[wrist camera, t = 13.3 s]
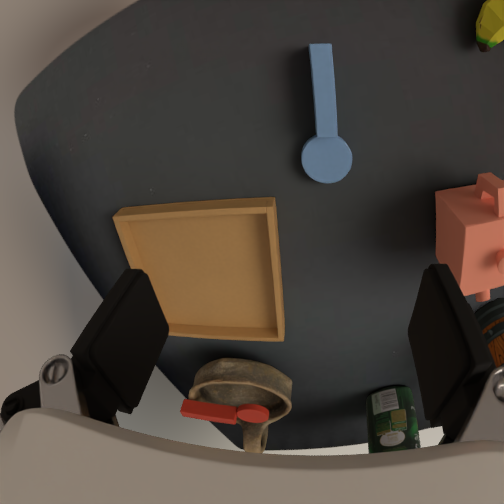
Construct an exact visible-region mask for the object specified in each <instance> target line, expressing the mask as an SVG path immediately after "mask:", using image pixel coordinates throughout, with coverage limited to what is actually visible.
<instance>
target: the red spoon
mask: <svg viewBox="0 0 504 504" xmlns="http://www.w3.org/2000/svg"><path fill="white" fill-rule="evenodd" d="M180 412H181V414H182V415H183V416H185V417H191V418H196V419H201V420H208V421H214V422H221V423H228V424H236V419H237V417H238V418H240V419H242V420H244V421H247V422H252V423H261V422H265V421H267V420H268V418H269V411H268V409H267V408H265V407H263V406H260V405H256V404H242V405H240V406H239V407H238V408H237V407H236V406H227V405H220V404H213V403H206V402H199V401H193V400H187V399H184V401H183V404H182V407H181V410H180Z"/></svg>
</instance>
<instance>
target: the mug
mask: <svg viewBox="0 0 504 504" xmlns="http://www.w3.org/2000/svg"><path fill="white" fill-rule="evenodd" d="M475 317H476V319H477V321H478V323H479V325H480V328H481V330H482V332H483V335H484V337H485V339H486V342H487V344H488V347H489V349H490V352H491V354H492V357H493V359H494V362H495V365H496V367H500V366H504V298H499V299H497V300H495V301H492V302H490V303H488V304H486V305H485V306H484V307H482V308H481V309H480V310H478V311H477V312H476V313H475Z"/></svg>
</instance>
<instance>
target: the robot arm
mask: <svg viewBox="0 0 504 504" xmlns="http://www.w3.org/2000/svg"><path fill="white" fill-rule="evenodd" d="M168 334H169V325H168V323H167V320H166V318H165V316H164V313H163V311H162V308H161V306H160V304H159V301H158V299H157V296H156V294H155V291H154V289H153V286H152V284H151V281H150V279H149V276H148V274H147V273H144V271H143V270H142V269H126V270H125V271H124V272H123V274H122V275H121V277H120V278H119V279H118V281H117V282H116V283H115V285H114V286H113V288H112V289H111V290H110V292H109V293H108V295H107V296H106V298H105V299H104V300H103V302H102V303H101V305H100V306H99V308H98V309H97V311H96V312H95V314H94V315H93V317H92V318H91V320H90V321H89V322H88V324H87V326H86V327H85V329H84V330H83V332H82V333H81V335H80V336H79V338H78V339H77V341H76V343H75V344H74V346H73V347H72V349H71V350H70V352H71V353H72V355H73V357H72V358H71V359H70V358H69V357H68V356H66V355H60V354H59V355H56V356H53V357H51V358H50V359H49V360H47V361H46V362H45V363H44V365H43V366H42V368H41V370H40V374H39V380H38V381H36V382H34V383H32V384H30V385H28V386H26V387H24V388H22V389H20V390H18V391H16V392H14V393H12V394H10V395H9V396H8V397H7V398H6V399H5V401H4V403H3V405H2V408H1V413H0V504H504V366H500V367H496V365H495V362H494V359H493V357H492V354H491V352H490V349H489V347H488V344H487V342H486V339H485V337H484V335H483V332H482V330H481V328H480V325H479V323H478V321H477V319H476V317H475V314H474V312H473V310H472V308H471V306H470V305H469V304H468V303H467V301H466V299H465V297H464V295H463V293H462V291H461V289H460V287H459V285H458V283H457V281H456V279H455V277H454V275H453V274H452V272H451V270H450V268H449V266H448V265H447V264H431V265H430V266H429V268H428V269H425V270H424V272H423V276H422V280H421V284H420V288H419V292H418V296H417V300H416V303H415V307H414V310H413V314H412V317H411V320H410V324H409V327H408V337H409V341H410V345H411V349H412V353H413V358H414V362H415V367H416V371H417V376H418V381H419V386H420V391H421V397H422V402H423V408H424V414H425V418H426V420H430V424H431V428H434V427H439V426H442V427H443V433H444V436H443V438H442V439H441V441H440V442H439V444H438V445H436V446H430V447H424V448H417V449H409V450H401V451H392V452H382V453H371V454H357V455H333V456H305V455H278V454H263V453H252V452H240V451H233V450H225V449H218V448H211V447H205V446H199V445H193V444H187V443H183V442H177V441H173V440H168V439H163V438H159V437H154V436H151V435H147V434H142V433H139V432H135V431H131V430H128V429H124V428H121V427H119V424H118V421H117V418H116V415H115V414H116V412H117V409H118V410H119V411H120V412H124V413H128V414H131V413H132V411H133V409H134V408H135V407H137V406H138V404H139V402H140V400H141V397H142V394H143V392H144V390H145V388H146V385H147V383H148V380H149V378H150V376H151V374H152V371H153V369H154V367H155V364H156V362H157V360H158V357H159V355H160V353H161V351H162V348H163V346H164V344H165V341H166V339H167V337H168Z"/></svg>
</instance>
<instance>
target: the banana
mask: <svg viewBox="0 0 504 504" xmlns="http://www.w3.org/2000/svg"><path fill="white" fill-rule="evenodd" d="M502 40H504V0H487V1H486V2H484V3H483V6H482V8H481V11H480V14H479V16H478V19H477V21H476V41H477V45H478V47H479V49H480V51H481V52H487V51H490V48H491V47H493V46H494V45H496V44H498V43H499V42H501V41H502Z"/></svg>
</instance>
